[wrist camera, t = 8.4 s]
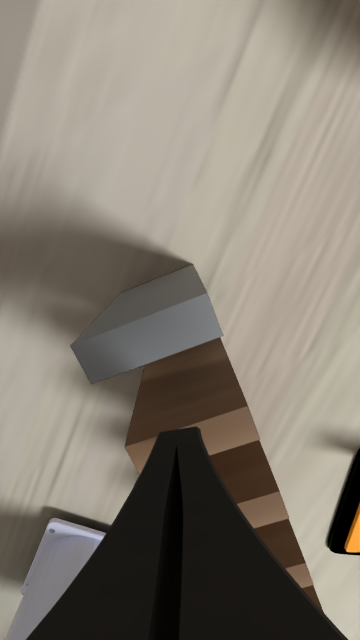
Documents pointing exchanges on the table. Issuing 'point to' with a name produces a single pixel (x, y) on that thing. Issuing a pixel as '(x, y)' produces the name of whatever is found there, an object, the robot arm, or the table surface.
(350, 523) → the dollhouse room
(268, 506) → the domino
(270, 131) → the table surface
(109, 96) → the table surface
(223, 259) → the table surface
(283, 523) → the domino
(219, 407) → the domino
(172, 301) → the domino
